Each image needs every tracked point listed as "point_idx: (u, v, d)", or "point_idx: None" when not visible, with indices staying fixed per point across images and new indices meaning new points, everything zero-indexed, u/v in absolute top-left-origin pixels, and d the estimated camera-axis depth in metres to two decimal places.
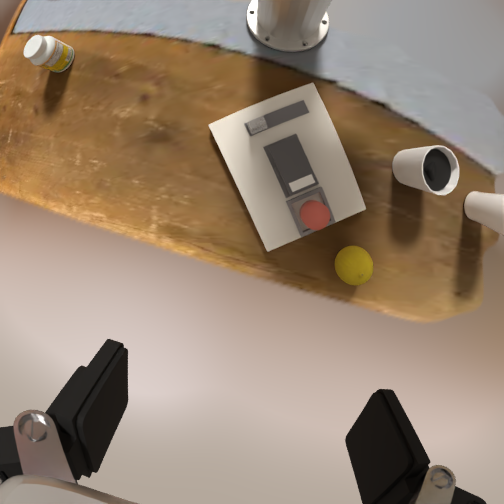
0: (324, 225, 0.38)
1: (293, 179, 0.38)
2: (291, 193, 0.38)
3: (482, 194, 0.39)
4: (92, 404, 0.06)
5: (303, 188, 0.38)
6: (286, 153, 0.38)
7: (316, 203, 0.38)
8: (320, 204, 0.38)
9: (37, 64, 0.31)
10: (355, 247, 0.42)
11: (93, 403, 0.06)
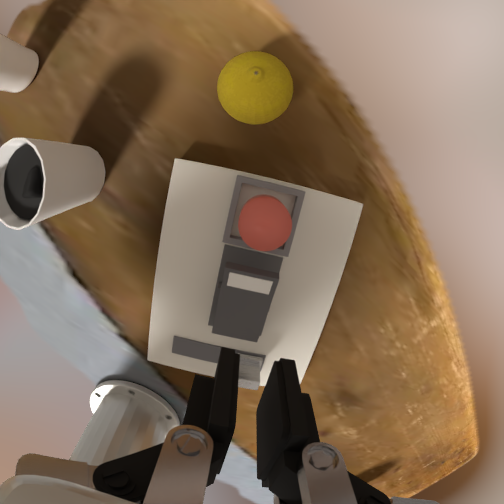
0: (262, 201, 0.20)
1: (257, 294, 0.23)
2: (275, 280, 0.22)
3: None
4: (236, 408, 0.08)
5: (253, 275, 0.22)
6: (240, 325, 0.24)
7: (250, 245, 0.21)
8: (245, 239, 0.20)
9: None
10: (232, 116, 0.20)
11: (236, 407, 0.08)
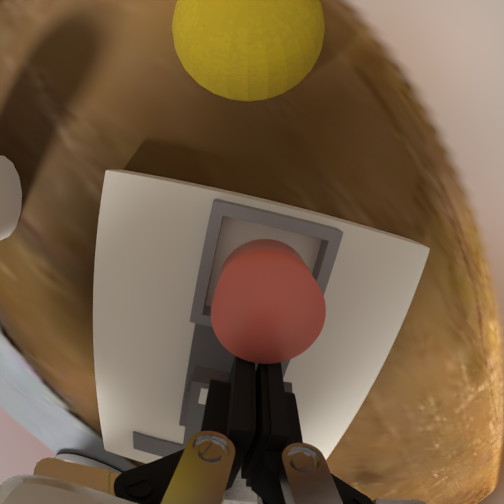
0: (264, 268, 0.09)
1: None
2: None
3: None
4: (255, 413, 0.08)
5: None
6: None
7: (238, 353, 0.10)
8: (227, 343, 0.09)
9: None
10: (202, 82, 0.09)
11: (255, 412, 0.08)
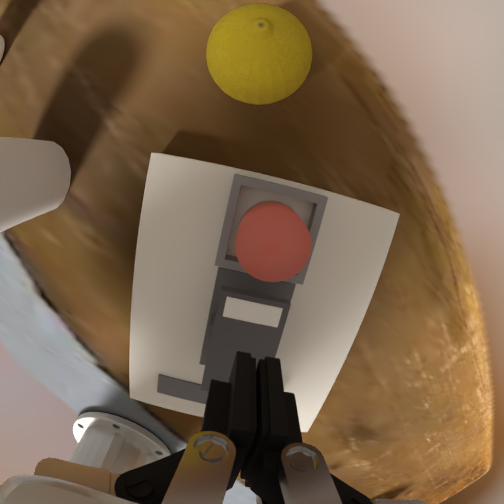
0: (270, 212, 0.14)
1: (263, 328, 0.17)
2: (286, 306, 0.17)
3: None
4: (256, 413, 0.08)
5: (257, 300, 0.17)
6: None
7: (253, 273, 0.15)
8: (245, 266, 0.15)
9: None
10: (227, 92, 0.14)
11: (256, 412, 0.08)
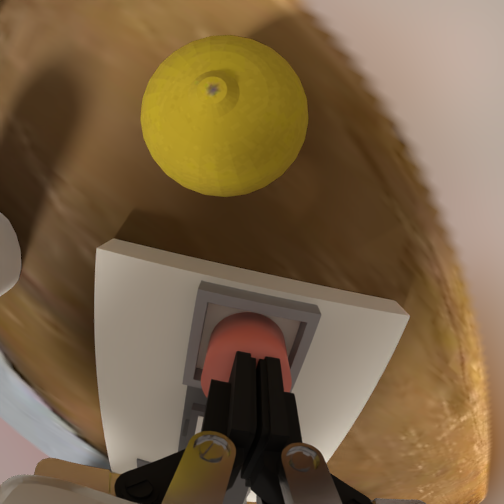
0: None
1: None
2: None
3: None
4: (256, 413, 0.08)
5: None
6: None
7: None
8: None
9: None
10: None
11: (255, 412, 0.08)
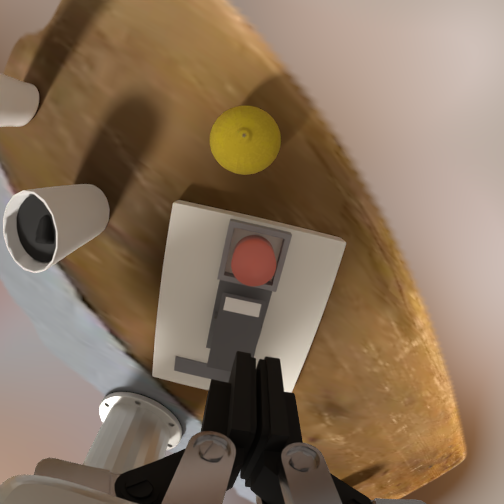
0: (251, 246, 0.24)
1: (249, 318, 0.27)
2: (263, 303, 0.27)
3: (0, 126, 0.21)
4: (256, 413, 0.08)
5: (245, 299, 0.27)
6: (233, 354, 0.26)
7: (241, 281, 0.25)
8: (237, 276, 0.25)
9: None
10: (224, 167, 0.23)
11: (255, 412, 0.08)
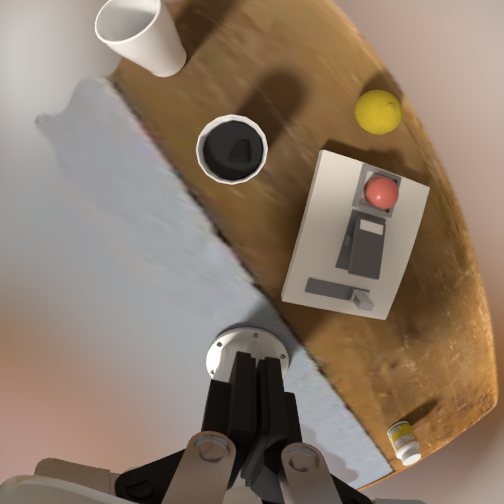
0: (385, 179, 0.32)
1: (376, 235, 0.35)
2: (384, 225, 0.35)
3: (154, 70, 0.29)
4: (256, 413, 0.08)
5: (373, 221, 0.35)
6: (368, 262, 0.34)
7: (377, 204, 0.33)
8: (375, 201, 0.33)
9: (418, 443, 0.43)
10: (366, 127, 0.31)
11: (255, 412, 0.08)
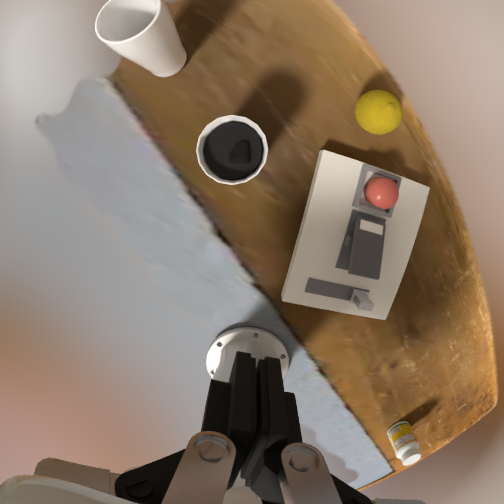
0: (385, 180, 0.32)
1: (376, 235, 0.35)
2: (384, 225, 0.35)
3: (155, 70, 0.29)
4: (256, 413, 0.08)
5: (373, 222, 0.35)
6: (368, 262, 0.34)
7: (377, 204, 0.33)
8: (375, 201, 0.33)
9: (418, 443, 0.43)
10: (366, 127, 0.31)
11: (256, 412, 0.08)
